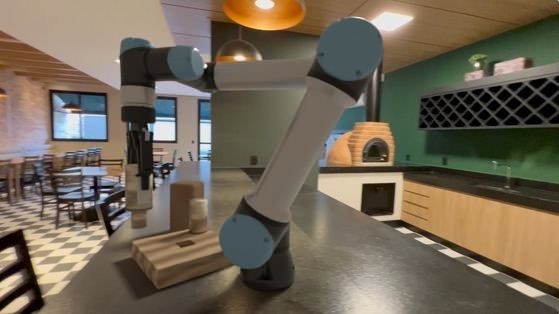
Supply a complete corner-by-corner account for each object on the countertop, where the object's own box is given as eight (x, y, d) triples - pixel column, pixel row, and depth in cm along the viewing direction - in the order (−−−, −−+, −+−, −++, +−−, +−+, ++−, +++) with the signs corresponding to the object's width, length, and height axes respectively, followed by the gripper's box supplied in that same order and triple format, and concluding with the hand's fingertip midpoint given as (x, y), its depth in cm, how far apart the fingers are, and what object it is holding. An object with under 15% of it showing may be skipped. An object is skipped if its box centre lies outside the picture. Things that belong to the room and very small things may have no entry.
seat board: (239, 262, 83) (240, 210, 82) (158, 289, 66) (158, 225, 65) (203, 239, 100) (203, 196, 99) (131, 256, 84) (131, 206, 83)
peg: (156, 227, 67) (156, 165, 66) (128, 232, 63) (128, 165, 62) (148, 221, 71) (148, 163, 71) (122, 226, 67) (122, 163, 66)
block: (192, 237, 103) (192, 184, 101) (168, 234, 105) (168, 183, 103) (204, 228, 112) (205, 181, 111) (182, 226, 114) (183, 179, 113)
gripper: (168, 104, 61) (169, 205, 62) (143, 110, 75) (144, 193, 76) (132, 100, 56) (133, 211, 57) (112, 108, 70) (114, 196, 71)
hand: (139, 200), depth 67 cm, fingers closed on peg, 6 cm apart
